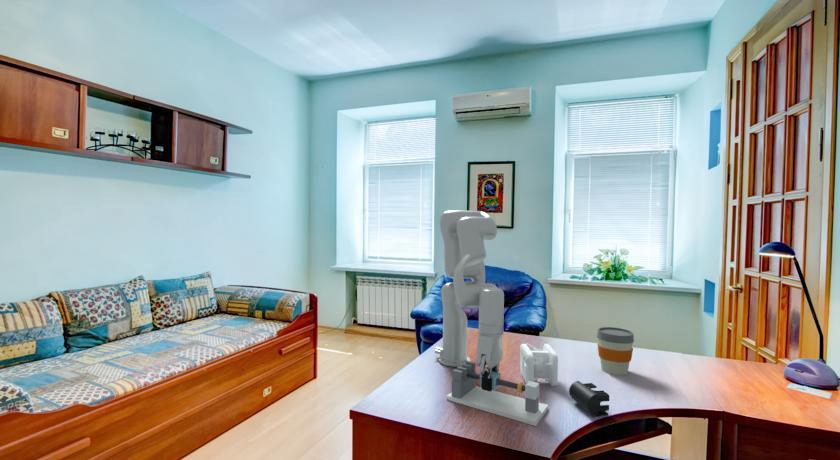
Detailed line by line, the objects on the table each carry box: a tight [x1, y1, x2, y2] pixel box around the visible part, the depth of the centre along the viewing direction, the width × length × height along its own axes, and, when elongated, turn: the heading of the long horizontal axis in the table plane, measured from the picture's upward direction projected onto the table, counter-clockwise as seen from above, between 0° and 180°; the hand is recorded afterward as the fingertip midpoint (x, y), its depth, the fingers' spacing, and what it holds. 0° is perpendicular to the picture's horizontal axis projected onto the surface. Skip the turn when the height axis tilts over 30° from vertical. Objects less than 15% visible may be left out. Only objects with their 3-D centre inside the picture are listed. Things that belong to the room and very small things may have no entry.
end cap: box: [568, 380, 610, 418], centre depth 118 cm, size 10×7×7 cm
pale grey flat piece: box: [526, 342, 543, 351], centre depth 170 cm, size 25×24×1 cm
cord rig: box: [446, 361, 549, 427], centre depth 121 cm, size 28×12×9 cm, turn 57°
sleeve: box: [479, 369, 501, 391], centre depth 122 cm, size 5×4×4 cm
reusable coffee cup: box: [596, 326, 635, 376], centre depth 150 cm, size 13×13×15 cm
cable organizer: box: [519, 343, 559, 388], centre depth 139 cm, size 15×11×12 cm
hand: (489, 386), depth 122 cm, fingers closed on sleeve, 4 cm apart
